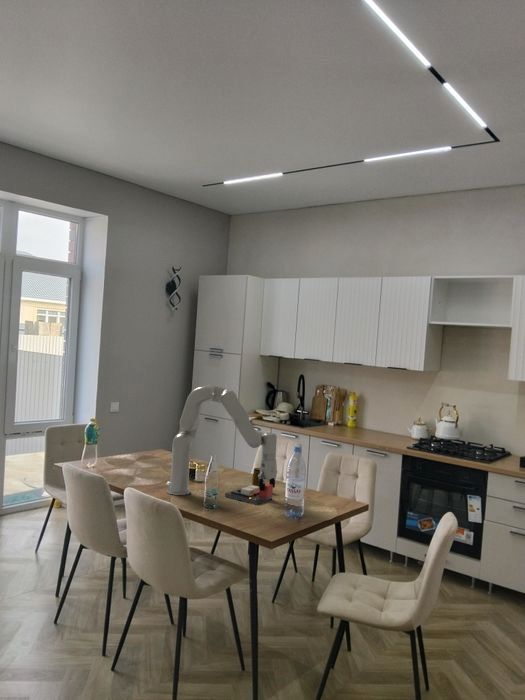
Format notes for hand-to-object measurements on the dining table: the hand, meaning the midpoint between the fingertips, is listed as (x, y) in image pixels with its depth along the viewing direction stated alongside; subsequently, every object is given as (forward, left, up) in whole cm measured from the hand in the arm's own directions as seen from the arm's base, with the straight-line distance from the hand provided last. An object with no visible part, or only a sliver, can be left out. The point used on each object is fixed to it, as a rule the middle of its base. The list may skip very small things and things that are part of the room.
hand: (266, 488), depth 297 cm
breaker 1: (-8, -6, -4) cm, 11 cm away
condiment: (-14, +13, -6) cm, 21 cm away
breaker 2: (-8, 0, -4) cm, 9 cm away
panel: (-8, -4, -6) cm, 11 cm away
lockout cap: (0, 0, -4) cm, 4 cm away
